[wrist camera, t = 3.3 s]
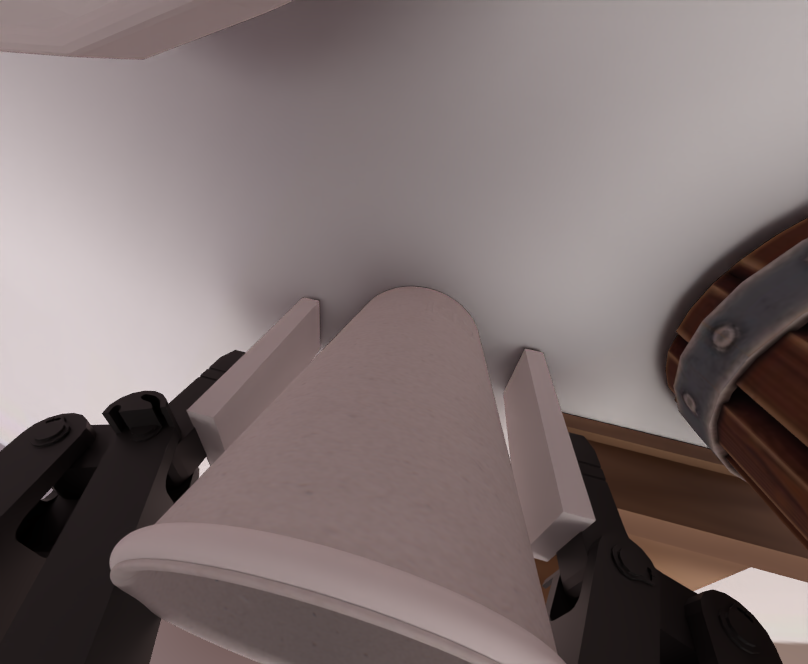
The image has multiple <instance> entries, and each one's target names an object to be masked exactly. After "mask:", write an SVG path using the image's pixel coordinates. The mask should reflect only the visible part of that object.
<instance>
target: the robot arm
mask: <svg viewBox="0 0 808 664" xmlns="http://www.w3.org/2000/svg"><path fill="white" fill-rule="evenodd" d="M319 350H320V312H319V301H317V300H313V299H308V298H304V297H303V298H302V299H301V300H300V301H299V302H298V303H297V304H296V305H295V306H293V307H292V308H291V309H290V310H289V311H288V312H287V313H286V314H285V315H284V316H283V317H282V318H281V319H280V320H279V321H278V322H277V323H276V324H275V325H274V326H273V327H272V328H271V329H270V330H269V331H268V332H267V333H266V334H265V335H264V336H263V337H262V338H261V339H260V340H258V341H257V342H256V343H255V344H254V345H253V346H252V347H251V348H250V349H249V350H248V351H247V352H246V353H245V352H241V351H237V350H234V351H232V352H230V353H228V354H226V355H224V356H222V357H220V358H219V359H218V360H217V361H216V362H215V363H214V364H213V365H211V366H210V368H209V369H207V370H206V371H205V372H204V373H202V374H201V376H200V378H199V377H198V378H197V379H196V380H195V381H194V382H192V383H191V384H190V385H189V386H188V387H187V388H186V389H185V390H183V391H182V392H181V393H180V394H179V395H178V396H177V397H176V398H174V399H173V400H172V401H171V402H170V403H169V404H168V402H167V400H166V398H165V397H164V395H163V394H161V393H158V392H156V391H141V392H136V393H132V394H129V395H127V396H124V397H122V398H120V399H118V400H117V401H115V402H114V403H112V404H110V405H109V406H108V407H107V408H106V410H105V411H104V412H103V413H102V414H103V416H104V417H105V418H106V420H107V421H108V423H109V424H110V425H90V423H89V422H88V421H87V419H86V418H85V417H84V416H83V415H80V414H76V413H69V414H60V415H57V416H53V417H49V418H47V419H45V420H42V421H40V422H38V423H36V424H34V425H33V426H31V427H30V428H28V429H27V430H25V431H24V432H22V433H21V434H20V435H19V436H18V437H17V438H15V439H14V440H13V441H12V442H11V443H10V444H8V445H7V446H6V447H5V448H4V449H3V450H1V452H0V664H149V662H150V659H151V655H152V651H153V647H154V644H155V639H156V636H157V632H158V628H159V625H160V621H161V618H160V617H158V616H157V615H155V614H154V613H153V612H151V611H150V610H149V609H148V608H147V607H146V606H145V605H144V604H142V603H141V602H140V601H138V600H137V599H136V598H134V597H132V596H131V595H129V594H127V593H126V592H124V591H123V590H121V589H120V588H118V587H117V586H115V585H114V584H113V583H112V581H111V579H110V572H111V569H110V563H109V561H110V556H111V553H112V551H113V549H114V547H115V546H116V545H117V543H118V542H119V541H120V540H121V539H122V538H124V537H125V536H126V535H128V534H129V533H131V532H133V531H135V530H137V529H140V528H143V527H146V526H150V525H154V524H155V523H156V522H157V521H158V520H159V519H160V518H161V517H162V516H163V515H164V514H165V513H166V512H167V511H168V510H169V509H170V508H171V507H172V506H173V505H174V504H175V503H176V501H177V500H178V499H179V498H180V497H181V496H182V495H183V494H184V493H185V492H186V491H187V490H188V489H189V488H190V487H191V486H192V485H193V484H194V483H195V482H196V481H197V480H198V478H199V468H198V466H199V465H200V464H201V462H202V461H203V460H204V459H205V458H206V457H207V460H208V462H209V464H210V466H211V465H212V464H213V463H214V462H215V461H216V460H217V459H218V458H219V457H220V456H221V455H222V454H223V453H224V452H225V451H226V450H227V449H228V448H229V447H230V446H231V444H232V443H233V442H234V441H235V440H236V439H237V438H238V437H239V436H240V435H241V434H242V433H243V432H244V431H245V430H246V429H247V428H248V427H249V426H250V425H251V424H252V423H253V422H254V421H255V420H256V419H257V418H258V417H259V415H260V414H261V413H262V412H263V411H264V410H265V409H266V408H267V407H268V406H269V405H270V404H271V403H272V402H273V401H274V400H275V399H276V398H277V397H278V396H279V395H280V394H281V393H282V392H283V391H284V390H285V389H286V388H287V386H288V385H289V384H290V383H291V382H292V381H293V380H294V379H295V378H296V377H297V376H298V375H299V374H300V373H301V372H302V371H303V370H304V369H305V368H306V367H307V366H308V365H309V364H310V363H311V361H312V360H313V358H314V357H315V356H316V354H317V353H318V351H319ZM503 396H504V405H505V414H506V423H507V432H508V441H509V450H510V459H511V467H512V471H513V475H514V479H515V483H516V487H517V491H518V495H519V499H520V503H521V507H522V511H523V516H524V520H525V524H526V528H527V532H528V536H529V540H530V544H531V548H532V552H533V556H534V558H536V559H539V560H543V561H546V562H548V561H549V560H550V559H551V558H552V557H554V556H555V555H557V560H558V565H559V569H558V570H557V571H556V572H555V573H553V574H552V575H551V576H549V577H548V578H547V579H546V580H545V581H544V583H543V585H542V586H543V587H544V588H545V589H546V588H548V587H549V586H550V585H551V587H550V591H549V594H548V598H547V602H546V609H547V613H548V617H549V621H550V625H551V629H552V633H553V638H554V642H555V646H556V650H557V654H558V655H559V656H560V657H561V658H562V660H563V661H564V662H565V663H566V664H783V663H782V661H781V659H780V657H779V654H778V652H777V650H776V648H775V646H774V644H773V642H772V640H771V639H770V637H769V635H768V633H767V632H766V630H765V629H764V628H763V627H762V625H761V624H760V623H759V622H758V620H757V619H756V618H755V617H754V615H752V614H751V613H750V612H749V611H748V610H747V609H746V608H745V607H744V606H743V605H741V604H740V603H739V602H738V601H736V600H735V599H733V598H732V597H730V596H728V595H727V594H725V593H722V592H719V591H716V590H709V591H704V592H702V593H700V594H697V593H695V592H693V591H692V590H690V589H688V588H687V587H685V586H683V585H682V584H680V583H678V582H677V581H675V580H673V579H672V578H670V577H668V576H667V575H665V574H663V573H662V572H660V571H659V570H657V569H656V568H655V567H654V565H653V563H652V561H651V560H650V558H649V557H648V556H647V555H646V553H645V552H644V551H643V550H642V548H640V547H639V546H638V545H637V544H636V543H635V542H633V541H632V540H631V539H629V537H628V535H627V533H626V531H625V528H624V525H623V523H622V520H621V517H620V515H619V512H618V509H617V507H616V504H615V502H614V499H613V496H612V494H611V491H610V488H609V486H608V483H607V482H606V481H605V480H606V478H605V475H604V473H603V470H602V469H601V465H600V462H599V459H598V457H597V454H596V452H595V450H594V448H593V447H592V446H591V445H590V443H589V442H588V441H587V439H586V438H585V437H584V436H582V435H578V434H574V433H570V432H568V430H567V427H566V424H565V420H564V417H563V414H562V411H561V408H560V404H559V401H558V398H557V395H556V392H555V388H554V385H553V382H552V379H551V376H550V373H549V369H548V366H547V363H546V360H545V357H544V353H543V352H538V351H534V350H530V349H525V350H524V352H523V354H522V356H521V358H520V360H519V362H518V364H517V366H516V368H515V370H514V372H513V374H512V376H511V378H510V380H509V382H508V384H507V386H506V388H505V390H504V392H503ZM51 488H52V489H53V491H52V492H51V493H50V494H49V495H48V496H47V497H46V498H44V499H42V500H41V498H42V497H43V496H44V495H45V494H46V493H47V492H48V491H49V490H50V489H51Z"/></svg>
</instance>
